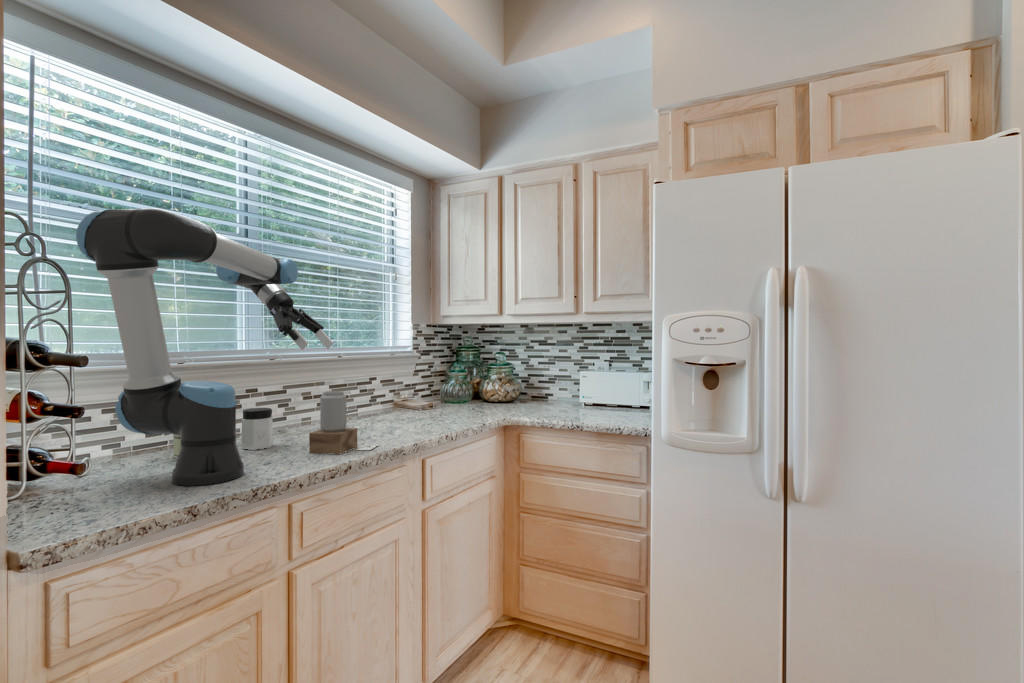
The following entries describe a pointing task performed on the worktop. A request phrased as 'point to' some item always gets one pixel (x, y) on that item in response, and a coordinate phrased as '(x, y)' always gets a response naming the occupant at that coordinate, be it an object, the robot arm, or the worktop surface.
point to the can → (333, 411)
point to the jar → (257, 428)
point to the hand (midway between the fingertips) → (318, 346)
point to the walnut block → (332, 441)
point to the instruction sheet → (370, 446)
